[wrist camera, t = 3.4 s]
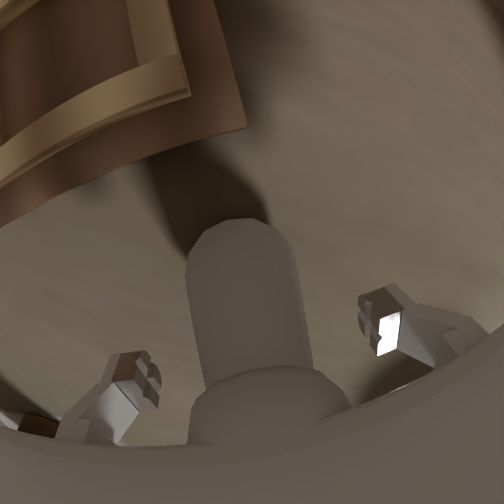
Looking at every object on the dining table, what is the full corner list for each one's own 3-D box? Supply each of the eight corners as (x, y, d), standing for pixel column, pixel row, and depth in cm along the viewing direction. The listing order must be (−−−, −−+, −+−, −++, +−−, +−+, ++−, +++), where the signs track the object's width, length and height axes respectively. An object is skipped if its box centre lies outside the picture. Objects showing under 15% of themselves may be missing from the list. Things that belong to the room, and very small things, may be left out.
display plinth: (187, -66, 7) (181, -108, 3) (242, 129, 14) (253, 123, 9) (-7, 34, 7) (-45, 25, 3) (19, 216, 14) (-25, 243, 9)
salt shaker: (177, 221, 15) (97, 438, 3) (275, 195, 15) (422, 371, 4) (207, 305, 18) (207, 509, 6) (292, 283, 18) (378, 472, 6)
